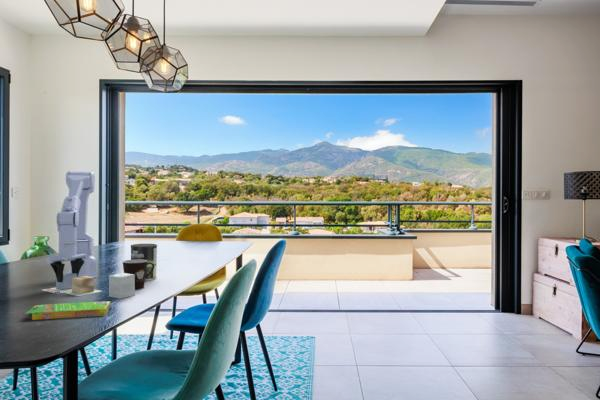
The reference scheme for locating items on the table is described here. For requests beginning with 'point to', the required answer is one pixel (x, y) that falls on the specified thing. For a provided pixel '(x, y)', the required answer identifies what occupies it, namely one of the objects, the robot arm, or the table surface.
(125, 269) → the coffee mug
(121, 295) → the skincare box
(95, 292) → the mat
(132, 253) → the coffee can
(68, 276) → the cube
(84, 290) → the block
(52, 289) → the letter
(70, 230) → the robot arm
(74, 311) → the game box
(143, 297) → the table surface
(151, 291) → the table surface
